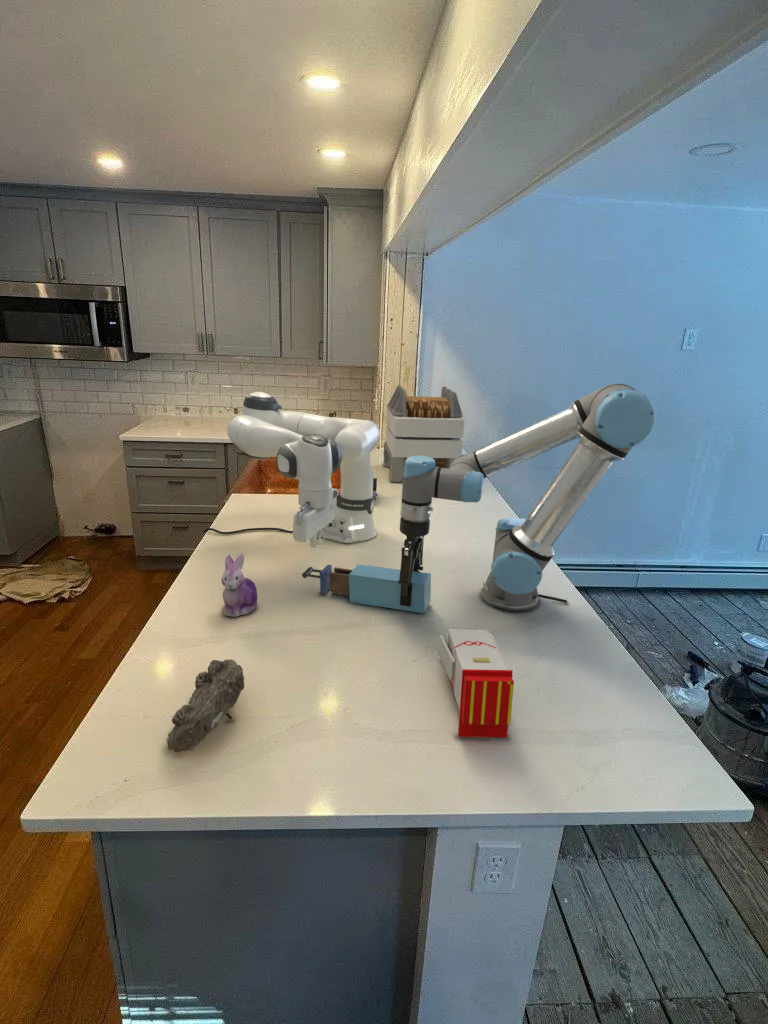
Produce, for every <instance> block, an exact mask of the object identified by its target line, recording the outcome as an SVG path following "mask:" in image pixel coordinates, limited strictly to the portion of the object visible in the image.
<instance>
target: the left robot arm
mask: <svg viewBox="0 0 768 1024" xmlns="http://www.w3.org/2000/svg"><path fill="white" fill-rule="evenodd" d="M242 406H243V409H242V414H241V415H236V416H234V417H233V418H232V419H231V420H229V423H228V424H227V429H226V432H227V436H228V438H229V440H230V441H231V442H232V443H233V444H234V445H235V447H237V448H238V449H239V450H240V451H242V454H243V455H244V456H246V457H247V458H248V459H252V460H255V461H261V460H266V459H269V458H270V457H275V462H276V469H277V471H278V472H279V473H280V474H281V475H282V476H283V477H284V478H286V479H291V480H294V479H295V480H297V481H298V484H297V485H298V486H297V492H298V493H297V494H298V496H297V497H298V498H297V500H298V501H297V503H298V505H299V507H298V510H297V511H296V512H294V513H295V514H294V515H293V523H292V530H288V529H284V528H281V527H250V528H249V527H248V528H244V529H243V528H242V529H238V530H232V531H221V530H218V529H216V528H213V527H208V528H207V527H206V528H205V529H204V530H203V533H207V532H208V531H211V532H215V533H217V534H220V535H232V534H238V533H244V532H252V531H278V532H283V533H290V534H292V539H293V540H294V541H295V542H299V543H307V542H308V541H309V546H310V547H311V548H316V547H317V546H319V545H320V544H321V538H323V539H326V540H330V541H336V542H339V543H343V544H352V543H357V542H365V541H368V540H372V539H373V538H375V537H376V535H377V532H376V528H375V523H374V513H373V512H374V509H375V499H374V496H373V478H374V472H373V470H372V469H373V468H372V464H371V452H372V451H373V450H374V449H376V447H377V446H378V444H379V441H380V438H381V431H380V428H379V427H378V425H377V424H376V423H375V422H374V421H372V420H368V419H358V418H348V417H336V416H335V417H331V416H325V415H320V414H314V413H309V412H304V411H294V410H282V409H283V406H282V405H281V404H279V402H278V400H277V399H276V398H275V397H274V396H273V395H271V394H269V393H266V392H264V391H254V392H249V393H247V394H246V395H245V397H244V399H243V403H242ZM280 410H282V411H280ZM338 469H339V473H340V488H339V489H340V490H339V489H338V488H334V487H333V483H332V474H335V473H336V472H337V471H338Z"/></svg>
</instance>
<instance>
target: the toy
mask: <svg viewBox="0 0 768 1024" xmlns="http://www.w3.org/2000/svg"><path fill="white" fill-rule="evenodd" d="M446 640H447V643H446V641H445V639H444V636H443V635H442V634H439V637H438V646H437V656H438V657H439V659H440V661H441V663H442V666H443V668H444V670H445V672H446V674H447V677H448V679H449V681H450V684H451V687H452V690H453V693H454V697H455V701H456V705H457V708H458V711H459V714H458V715H459V716H458V730H457V731H458V732H457V737H458V738H508V731H509V726H510V725H511V717H512V707H513V697H514V696H513V695H514V684H515V680H514V679H513V673H514V671H513V670H512V669H508V667H507V665H506V662H505V661H504V659H503V658H502V655H501V653H500V651H499V649H498V647H497V643H496V639H495V637H494V635H493V634H491V632H490V631H489V629H467V628H466V629H465V628H463V629H461V628H460V629H459V628H448V630H447V639H446Z"/></svg>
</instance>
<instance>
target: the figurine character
mask: <svg viewBox="0 0 768 1024" xmlns="http://www.w3.org/2000/svg"><path fill="white" fill-rule="evenodd" d="M377 484H378V478H377V477H373V496H374V500H376V498H377V496H378V493H377V487H378V485H377Z"/></svg>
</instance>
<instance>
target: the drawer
mask: <svg viewBox="0 0 768 1024" xmlns="http://www.w3.org/2000/svg"><path fill="white" fill-rule="evenodd" d="M352 570H353V569H351V568H343V567H336V566H335V567H334V568H333V565H332V564H326V565H325V566H324V567H323V568H322V569H315V568H313V566H309V567H307V569H306V570H304V572H302V573H301V577H302V578H303V579H307V578H315V579H319V585H320V586H319V589H320V594H321V595H326V593H327V592H329V593H331V594H338V595H345V596H350V591H349V574H350V573H351V572H352ZM333 571H334V572H333ZM313 573H319V574H313Z"/></svg>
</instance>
